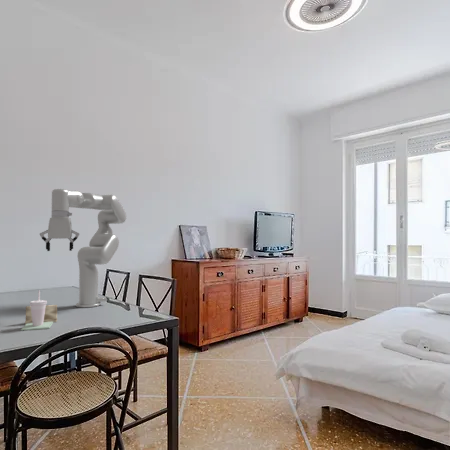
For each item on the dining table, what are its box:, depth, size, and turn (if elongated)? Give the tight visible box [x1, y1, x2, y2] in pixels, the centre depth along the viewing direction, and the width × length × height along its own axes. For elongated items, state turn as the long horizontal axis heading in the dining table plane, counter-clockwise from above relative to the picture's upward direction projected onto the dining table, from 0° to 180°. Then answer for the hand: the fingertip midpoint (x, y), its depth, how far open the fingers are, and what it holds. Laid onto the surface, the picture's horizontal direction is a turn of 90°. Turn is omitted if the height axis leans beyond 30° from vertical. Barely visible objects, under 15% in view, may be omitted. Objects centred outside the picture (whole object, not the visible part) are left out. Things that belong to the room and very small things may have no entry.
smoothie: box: [29, 290, 48, 326], centre depth 146 cm, size 6×6×14 cm
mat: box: [20, 322, 54, 332], centre depth 146 cm, size 10×10×1 cm
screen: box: [24, 304, 58, 325], centre depth 154 cm, size 12×3×7 cm, turn 108°
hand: (59, 250), depth 169 cm, fingers open, 9 cm apart
